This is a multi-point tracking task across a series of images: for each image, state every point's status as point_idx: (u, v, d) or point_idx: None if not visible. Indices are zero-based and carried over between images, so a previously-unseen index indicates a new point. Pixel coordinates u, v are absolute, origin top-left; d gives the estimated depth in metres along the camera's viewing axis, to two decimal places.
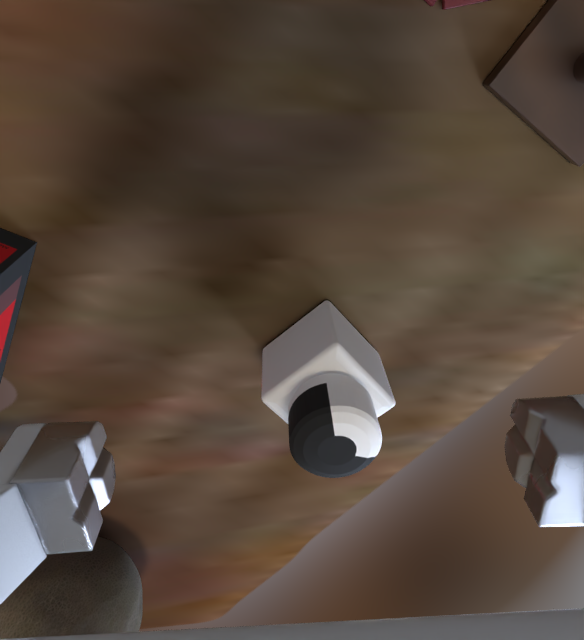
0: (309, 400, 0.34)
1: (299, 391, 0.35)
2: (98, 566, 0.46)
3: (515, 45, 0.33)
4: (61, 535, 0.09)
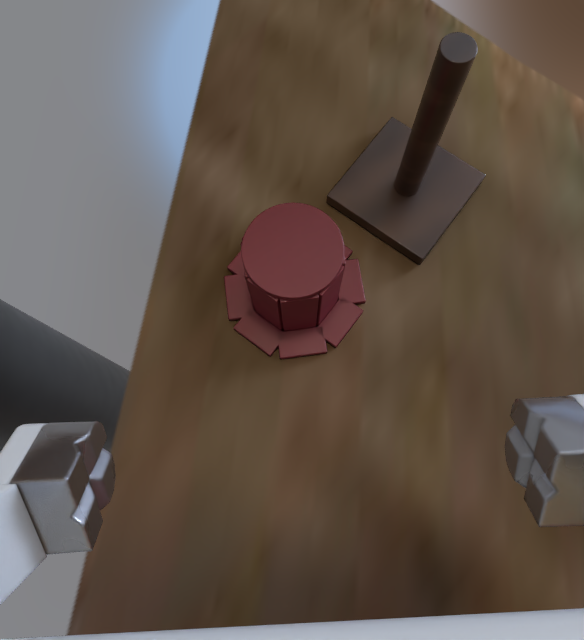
0: None
1: None
2: None
3: (391, 243, 0.40)
4: (61, 535, 0.09)
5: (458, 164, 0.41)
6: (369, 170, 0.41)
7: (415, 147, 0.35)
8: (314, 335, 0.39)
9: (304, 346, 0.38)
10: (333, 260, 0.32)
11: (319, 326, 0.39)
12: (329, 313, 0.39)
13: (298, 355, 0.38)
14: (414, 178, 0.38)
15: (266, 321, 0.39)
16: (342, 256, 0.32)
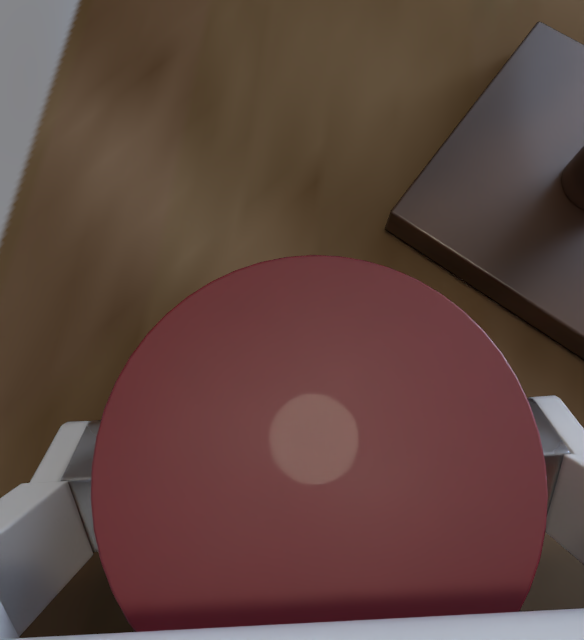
0: None
1: None
2: None
3: (560, 336, 0.15)
4: None
5: None
6: (493, 148, 0.16)
7: None
8: None
9: None
10: (504, 525, 0.07)
11: None
12: None
13: None
14: None
15: None
16: (542, 503, 0.07)
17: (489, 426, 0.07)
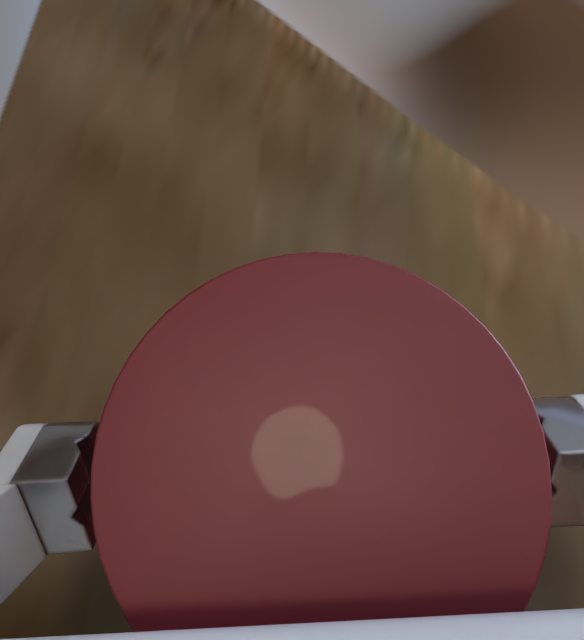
0: None
1: None
2: None
3: None
4: (61, 535, 0.09)
5: None
6: None
7: None
8: None
9: None
10: (508, 524, 0.07)
11: None
12: None
13: None
14: None
15: None
16: (546, 502, 0.07)
17: (492, 424, 0.07)
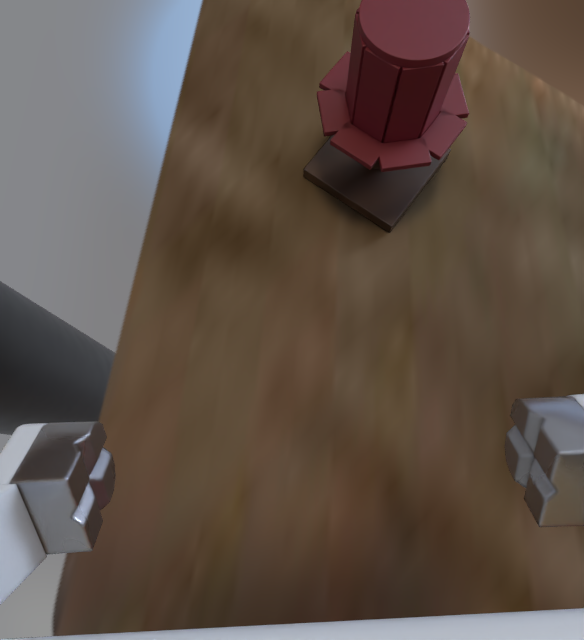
0: None
1: None
2: None
3: (362, 212, 0.44)
4: (61, 535, 0.09)
5: None
6: None
7: None
8: (417, 146, 0.36)
9: (407, 157, 0.36)
10: (459, 24, 0.30)
11: (421, 137, 0.36)
12: (431, 125, 0.37)
13: (401, 166, 0.36)
14: None
15: (365, 133, 0.37)
16: (468, 21, 0.30)
17: (456, 6, 0.30)
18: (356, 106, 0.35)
